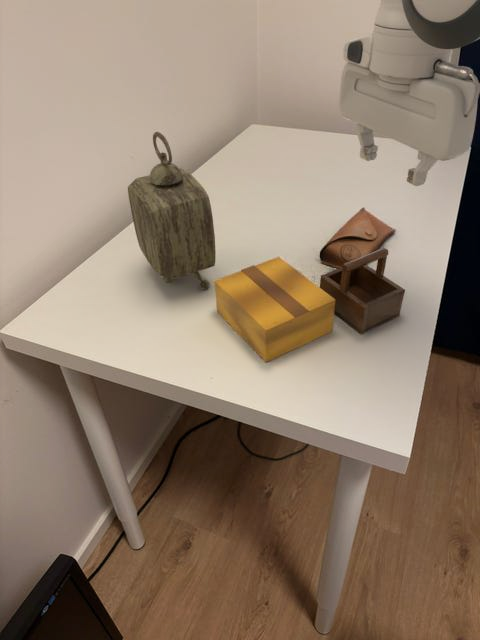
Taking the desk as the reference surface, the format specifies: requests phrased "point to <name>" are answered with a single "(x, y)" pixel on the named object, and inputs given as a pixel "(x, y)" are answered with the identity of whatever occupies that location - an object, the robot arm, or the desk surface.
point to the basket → (364, 292)
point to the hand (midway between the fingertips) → (390, 170)
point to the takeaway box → (274, 307)
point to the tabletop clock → (173, 219)
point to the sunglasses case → (355, 239)
